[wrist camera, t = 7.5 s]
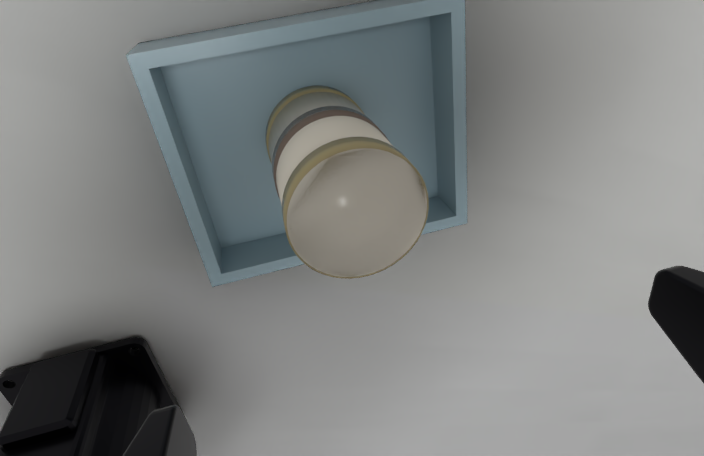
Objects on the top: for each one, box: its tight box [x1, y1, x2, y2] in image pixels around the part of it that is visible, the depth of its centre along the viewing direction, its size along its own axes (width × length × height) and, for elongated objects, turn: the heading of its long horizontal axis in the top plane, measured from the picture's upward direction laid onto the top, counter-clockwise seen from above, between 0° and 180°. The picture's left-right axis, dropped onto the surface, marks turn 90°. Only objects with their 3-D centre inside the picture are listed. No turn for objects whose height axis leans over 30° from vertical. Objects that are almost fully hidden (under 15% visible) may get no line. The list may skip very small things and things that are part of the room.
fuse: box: [265, 85, 429, 278], centre depth 16 cm, size 4×4×7 cm
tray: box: [126, 0, 467, 287], centre depth 18 cm, size 9×11×2 cm
